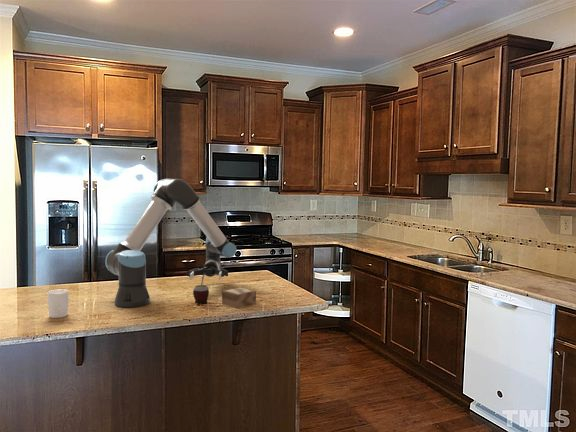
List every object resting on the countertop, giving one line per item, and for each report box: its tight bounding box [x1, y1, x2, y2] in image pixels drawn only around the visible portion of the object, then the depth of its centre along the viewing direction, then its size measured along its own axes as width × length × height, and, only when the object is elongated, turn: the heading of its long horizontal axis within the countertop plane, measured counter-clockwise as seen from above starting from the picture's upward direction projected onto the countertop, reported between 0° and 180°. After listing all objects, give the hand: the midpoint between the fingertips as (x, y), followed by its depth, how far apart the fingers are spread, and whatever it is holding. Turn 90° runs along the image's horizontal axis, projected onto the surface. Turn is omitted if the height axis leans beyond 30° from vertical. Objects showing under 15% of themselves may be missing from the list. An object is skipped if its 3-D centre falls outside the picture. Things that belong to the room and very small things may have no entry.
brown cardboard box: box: [221, 286, 257, 310], centre depth 212 cm, size 11×11×6 cm
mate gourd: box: [192, 273, 210, 306], centre depth 211 cm, size 8×8×15 cm
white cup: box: [46, 289, 70, 319], centre depth 189 cm, size 8×8×10 cm
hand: (205, 277), depth 220 cm, fingers open, 13 cm apart
